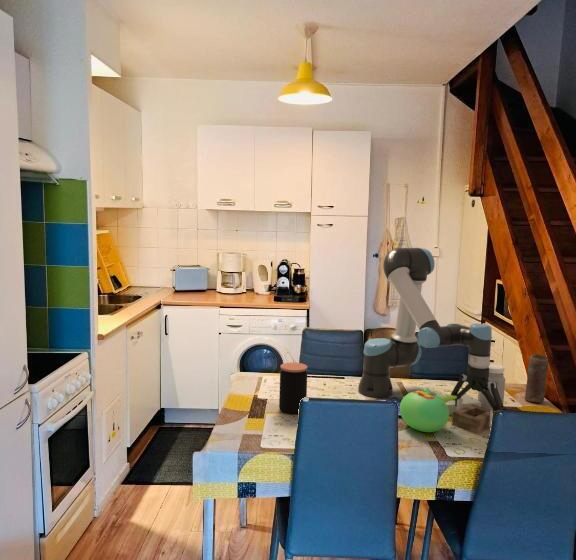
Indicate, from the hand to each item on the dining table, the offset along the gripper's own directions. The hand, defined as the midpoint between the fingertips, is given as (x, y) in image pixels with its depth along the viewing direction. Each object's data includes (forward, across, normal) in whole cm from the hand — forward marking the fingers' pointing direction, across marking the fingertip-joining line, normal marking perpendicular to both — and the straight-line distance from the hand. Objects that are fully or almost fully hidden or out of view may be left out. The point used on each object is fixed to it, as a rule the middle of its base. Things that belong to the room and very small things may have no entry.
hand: (475, 421), depth 187 cm
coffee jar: (+1, -51, -47) cm, 69 cm away
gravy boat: (+2, -9, -19) cm, 21 cm away
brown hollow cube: (+2, 0, 0) cm, 2 cm away
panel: (+1, -14, +8) cm, 16 cm away
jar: (+2, -6, +21) cm, 22 cm away
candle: (+2, +1, +46) cm, 46 cm away
